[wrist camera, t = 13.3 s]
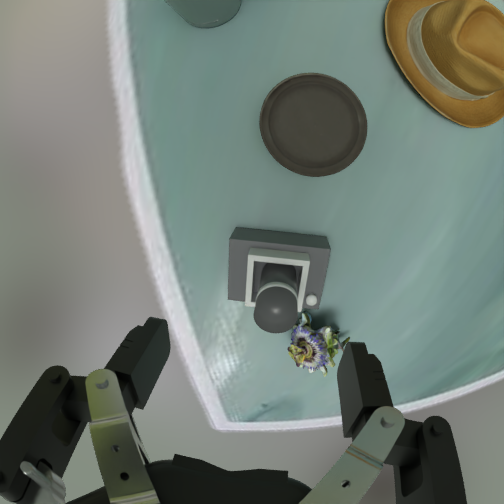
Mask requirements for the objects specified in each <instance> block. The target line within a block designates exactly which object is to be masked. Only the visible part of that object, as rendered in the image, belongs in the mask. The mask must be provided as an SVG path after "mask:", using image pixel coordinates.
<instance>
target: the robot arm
mask: <svg viewBox="0 0 504 504" xmlns="http://www.w3.org/2000/svg"><path fill="white" fill-rule="evenodd" d="M164 1H165V2H166V3H168V4H169V5H170V6H171V7H172V8H173V9H174V10H175V11H176V12H177V13H178V14H179V15H180V16H181V17H183V18H184V19H185V20H186V21H187V22H188V23H189V24H191V25H193V26H195V27H200V28H211V27H216V26H219V25H222V24H224V23H226V22H227V21H229V20H230V19H232V18H233V17H234V16H235V15H236V13H237V12H238V10H239V8H240V5H241V0H164ZM169 353H170V339H169V332H168V324H167V321H166V320H165V319H159V318H154V317H149V318H148V320H147V321H146V323H145V324H144V326H139V325H138V326H137V327H135V328H134V329H132V330H131V331H130V332H129V333H128V334H127V336H126V338H125V339H124V340H123V342H122V343H121V344H120V347H118V349H117V350H116V352H115V353H114V355H113V356H112V358H111V359H110V361H109V362H108V363H107V365H106V367H105V368H104V369H98V370H95V371H93V372H91V373H90V374H89V375H88V376H87V377H84V376H70V374H69V372H68V370H67V369H66V368H65V367H63V366H52V367H50V368H48V369H47V370H46V371H45V372H44V373H43V374H42V376H41V377H40V379H39V380H38V381H37V383H36V384H35V386H34V387H33V389H32V390H31V392H30V393H29V395H28V396H27V398H26V399H25V401H24V402H23V404H22V405H21V407H20V408H19V410H18V411H17V413H16V415H15V416H14V418H13V419H12V421H11V423H10V425H9V426H8V428H7V429H6V431H5V433H4V434H3V436H2V438H1V440H0V495H1V496H2V497H3V498H4V499H5V500H7V501H9V502H10V503H12V504H358V502H359V501H360V500H361V498H362V497H363V496H364V494H365V493H366V492H367V490H368V489H369V487H370V486H371V485H372V483H373V482H374V480H375V478H376V477H377V476H378V474H379V473H380V471H381V469H382V467H383V465H382V464H383V463H385V464H390V465H393V467H394V478H395V491H396V504H467V501H466V494H465V488H464V482H463V477H462V472H461V467H460V463H459V458H458V454H457V450H456V446H455V442H454V438H453V434H452V431H451V427H450V425H449V423H448V422H447V421H446V420H445V419H444V418H442V417H440V416H431V417H429V418H427V419H426V420H425V421H424V422H423V423H422V422H417V421H412V420H408V419H405V418H404V416H403V414H402V413H401V412H400V411H399V410H398V409H396V408H394V407H393V404H392V400H391V396H390V393H389V389H388V385H387V382H386V380H385V379H386V378H385V375H384V373H383V368H382V365H381V362H380V361H379V360H378V358H377V357H376V356H375V355H374V354H368V352H367V348H366V345H365V343H364V342H347V344H346V347H345V349H344V352H343V355H342V358H341V361H340V363H339V366H338V371H337V381H338V388H339V396H340V405H341V414H342V423H343V433H344V437H346V438H348V437H352V441H353V442H352V444H351V445H350V446H349V447H348V449H347V450H346V451H345V452H344V454H343V455H342V456H341V457H340V459H339V460H338V461H337V462H336V464H335V465H334V466H333V467H332V468H331V469H330V470H329V472H328V473H327V474H326V475H325V476H324V477H323V478H322V480H321V481H320V482H319V483H318V484H317V485H316V486H315V487H314V488H313V489H311V488H310V487H308V486H307V485H305V484H303V483H302V482H300V481H298V480H295V479H292V478H289V477H288V471H280V470H266V469H254V470H243V471H227V470H224V469H222V468H219V467H217V466H215V465H212V464H210V463H207V462H205V461H203V460H200V459H195V458H190V457H186V456H182V455H178V454H175V455H174V458H173V460H161V461H155V462H152V463H151V461H150V459H149V457H148V455H147V452H146V450H145V448H144V445H143V443H142V440H141V438H140V435H139V432H138V429H137V427H136V424H135V421H134V418H133V415H132V412H133V410H134V408H135V407H136V408H139V409H144V407H145V405H146V403H147V400H148V399H149V396H150V394H151V392H152V390H153V388H154V386H155V384H156V382H157V380H158V378H159V375H160V373H161V371H162V369H163V367H164V365H165V363H166V361H167V359H168V357H169ZM87 422H90V423H89V428H90V433H91V438H92V442H93V446H94V450H95V454H96V458H97V461H98V465H99V469H100V472H101V475H102V479H103V482H104V485H105V486H104V487H101V488H99V489H97V490H95V491H93V492H91V493H89V494H86V495H84V496H82V497H79V498H77V499H75V500H72V501H69V502H67V503H65V496H66V492H65V491H66V488H65V484H64V482H63V480H62V477H63V474H64V472H65V470H66V467H67V465H68V463H69V461H70V458H71V456H72V454H73V452H74V450H75V447H76V445H77V443H78V441H79V439H80V437H81V435H82V432H83V431H84V429H85V427H86V424H87Z"/></svg>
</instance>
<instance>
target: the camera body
mask: <svg viewBox="0 0 504 504" xmlns="http://www.w3.org/2000/svg"><path fill="white" fill-rule="evenodd" d="M330 251H331V249H330V246H329V243H328V240H327V237H325V236H316V235H307V234H297V233H288V232H279V231H269V230H259V229H249V228H239V227H236V228H235V230H234V232H233V234H232V235H231V237H230V244H229V276H228V300H235V301H244V302H245V306H249V307H255V304H256V297H257V293H258V289H259V284H260V278H261V273H262V269H263V267H264V266H265V265H266V264H267V263H278V264H287V265H293V266H294V268H295V270H296V278H297V297H298V312H301V310H302V308H310V309H319V305H320V300H321V296H322V291H323V286H324V282H325V277H326V272H327V266H328V261H329V256H330Z"/></svg>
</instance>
